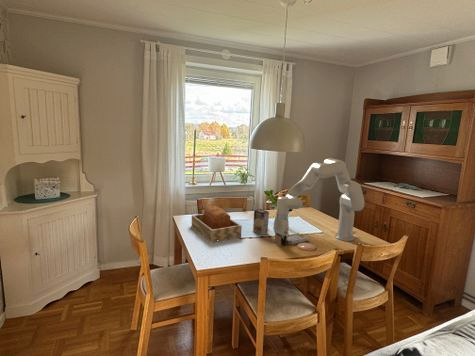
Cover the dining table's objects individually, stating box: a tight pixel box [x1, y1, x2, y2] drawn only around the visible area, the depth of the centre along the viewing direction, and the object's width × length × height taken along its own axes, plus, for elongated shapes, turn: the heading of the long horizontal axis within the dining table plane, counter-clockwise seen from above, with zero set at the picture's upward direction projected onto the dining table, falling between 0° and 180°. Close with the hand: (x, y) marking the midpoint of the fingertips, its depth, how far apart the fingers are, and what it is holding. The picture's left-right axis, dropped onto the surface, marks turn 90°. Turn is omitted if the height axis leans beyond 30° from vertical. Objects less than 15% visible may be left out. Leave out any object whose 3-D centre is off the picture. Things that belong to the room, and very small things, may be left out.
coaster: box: [297, 242, 316, 252], centre depth 179 cm, size 11×11×1 cm
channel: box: [289, 232, 309, 245], centre depth 189 cm, size 14×9×2 cm, turn 121°
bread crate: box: [191, 213, 243, 243], centre depth 200 cm, size 22×34×8 cm, turn 31°
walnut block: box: [274, 234, 288, 246], centre depth 183 cm, size 6×6×6 cm
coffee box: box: [252, 208, 270, 236], centre depth 200 cm, size 9×6×16 cm
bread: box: [202, 205, 232, 230], centre depth 203 cm, size 14×26×16 cm, turn 25°
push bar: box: [286, 235, 302, 245], centre depth 187 cm, size 12×5×3 cm, turn 126°
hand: (280, 242), depth 183 cm, fingers closed on walnut block, 5 cm apart
